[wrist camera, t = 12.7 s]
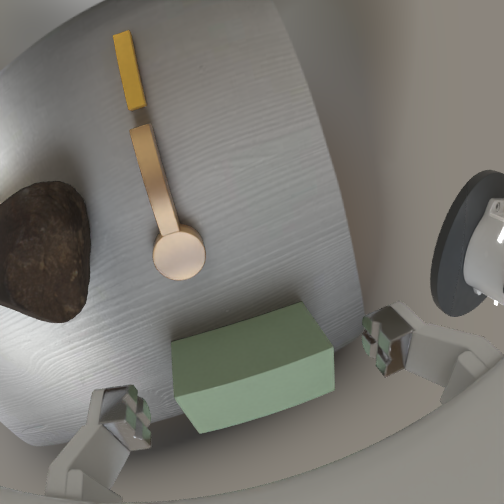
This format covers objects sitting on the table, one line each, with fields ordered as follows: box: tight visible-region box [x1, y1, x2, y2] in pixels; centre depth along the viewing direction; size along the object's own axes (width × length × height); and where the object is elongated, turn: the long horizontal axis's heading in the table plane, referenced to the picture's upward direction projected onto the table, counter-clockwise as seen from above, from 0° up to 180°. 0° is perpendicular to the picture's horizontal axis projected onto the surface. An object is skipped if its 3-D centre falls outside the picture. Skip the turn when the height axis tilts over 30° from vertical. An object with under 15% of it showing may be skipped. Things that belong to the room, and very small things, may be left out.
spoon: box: [129, 124, 206, 280], centre depth 24 cm, size 14×5×2 cm, turn 12°
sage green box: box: [171, 302, 335, 434], centre depth 30 cm, size 15×7×8 cm, turn 102°
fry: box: [113, 30, 147, 111], centre depth 19 cm, size 1×7×1 cm, turn 12°
